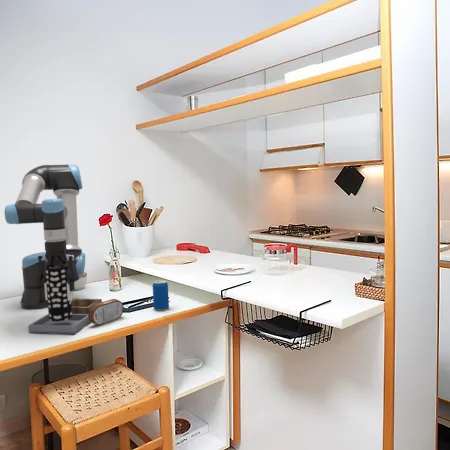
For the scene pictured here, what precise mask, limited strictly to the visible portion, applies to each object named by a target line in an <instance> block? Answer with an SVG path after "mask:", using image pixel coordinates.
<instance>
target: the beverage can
mask: <svg viewBox="0 0 450 450" xmlns="http://www.w3.org/2000/svg"><path fill="white" fill-rule="evenodd" d="M152 283H153V284H152V299H153V300H152V302H153V309H154V310H155V311H158V312H161V311H166V310H167V309H169V307H170V304H169V299H170V298H169V284H168V281H167V280H165V279H158V280H157V279H156V280H153V282H152Z"/></svg>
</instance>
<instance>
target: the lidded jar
mask: <svg viewBox="0 0 450 450" xmlns="http://www.w3.org/2000/svg"><path fill="white" fill-rule="evenodd" d="M87 274H88V273H87V272H86V271H84V274H83V276H82V277H81V278H79V280H77V281H75V282H74V288H75V289H74V291H79V290H80V289H81V290H83V289H84V287H85V286H86V284H87V281H88V275H87Z"/></svg>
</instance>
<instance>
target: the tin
mask: <svg viewBox="0 0 450 450" xmlns="http://www.w3.org/2000/svg"><path fill="white" fill-rule="evenodd" d="M123 313H124V303H123V302H122V301H121V300H119V299H116V298H111V299H108V300H104V301H102V302H100V303H96V304H95V305H93V306H92V307H91V309H90V311H89V315H88V317H89V320H90V322H91V323H90V324H92V325H96V326H101V325H106V324H107V323H111V322H113V321H117V320H119V319H121V317H122V315H123Z"/></svg>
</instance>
